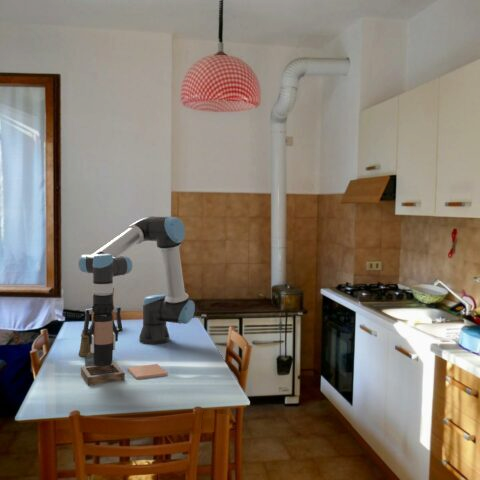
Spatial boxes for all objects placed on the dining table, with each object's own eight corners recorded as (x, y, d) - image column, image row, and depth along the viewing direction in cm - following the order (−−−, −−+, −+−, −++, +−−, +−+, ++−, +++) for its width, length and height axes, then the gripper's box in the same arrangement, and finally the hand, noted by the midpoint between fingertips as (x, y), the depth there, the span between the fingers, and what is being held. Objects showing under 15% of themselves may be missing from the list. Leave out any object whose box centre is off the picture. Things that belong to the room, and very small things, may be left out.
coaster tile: (157, 366, 226) (157, 363, 226) (167, 375, 215) (167, 372, 215) (127, 369, 220) (127, 367, 220) (136, 379, 209) (136, 376, 209)
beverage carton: (84, 372, 217) (84, 356, 217) (92, 358, 236) (92, 344, 236) (104, 372, 218) (104, 356, 217) (110, 358, 237) (110, 344, 237)
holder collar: (115, 370, 220) (115, 363, 219) (124, 380, 207) (124, 372, 207) (80, 374, 213) (80, 367, 213) (88, 385, 201) (88, 377, 201)
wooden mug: (107, 357, 238) (107, 317, 237) (76, 356, 237) (76, 317, 236) (110, 351, 247) (111, 313, 246) (81, 351, 246) (81, 313, 245)
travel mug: (95, 360, 214) (94, 311, 212) (114, 360, 214) (114, 311, 213) (91, 366, 206) (91, 315, 205) (111, 366, 207) (111, 315, 205)
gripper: (126, 290, 216) (126, 345, 218) (74, 293, 207) (74, 351, 208) (131, 293, 210) (131, 350, 211) (77, 297, 200) (78, 356, 202)
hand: (103, 350), depth 210 cm, fingers closed on travel mug, 8 cm apart
